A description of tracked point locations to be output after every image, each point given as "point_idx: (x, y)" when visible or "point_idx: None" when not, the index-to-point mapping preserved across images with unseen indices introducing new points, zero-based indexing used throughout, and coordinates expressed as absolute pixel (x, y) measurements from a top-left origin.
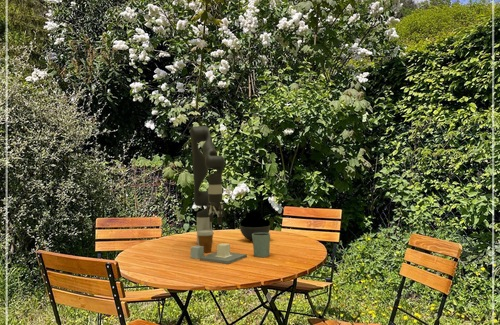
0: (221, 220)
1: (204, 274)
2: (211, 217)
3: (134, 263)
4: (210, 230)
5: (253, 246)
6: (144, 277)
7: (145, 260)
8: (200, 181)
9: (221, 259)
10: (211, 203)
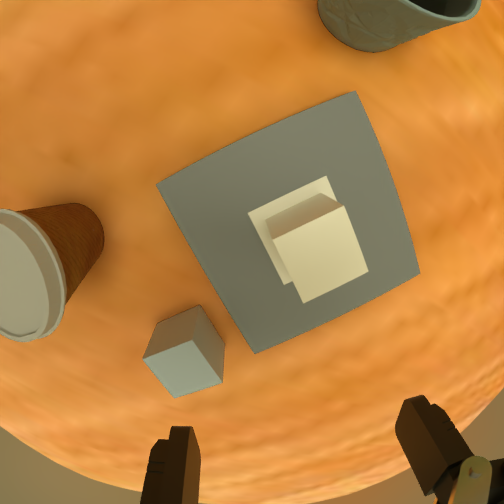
0: (451, 429)
1: (443, 386)
2: (192, 497)
3: None
4: None
5: (370, 30)
6: (340, 489)
7: (146, 463)
8: None
9: (372, 283)
10: None
